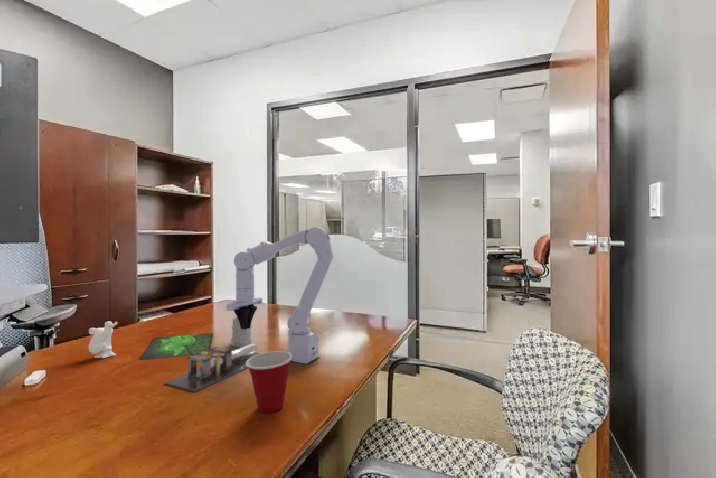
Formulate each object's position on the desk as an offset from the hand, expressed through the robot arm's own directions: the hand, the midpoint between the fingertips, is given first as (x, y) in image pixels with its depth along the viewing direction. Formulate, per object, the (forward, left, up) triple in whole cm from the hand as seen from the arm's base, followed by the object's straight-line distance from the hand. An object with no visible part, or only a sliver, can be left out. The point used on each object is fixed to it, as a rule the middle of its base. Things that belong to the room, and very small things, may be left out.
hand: (245, 328), depth 123 cm
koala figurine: (+44, +20, -10) cm, 49 cm away
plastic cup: (-30, +24, -10) cm, 40 cm away
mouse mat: (+32, 0, -10) cm, 34 cm away
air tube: (-1, +8, -9) cm, 12 cm away
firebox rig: (-1, +10, -10) cm, 14 cm away
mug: (+14, -13, -10) cm, 22 cm away
